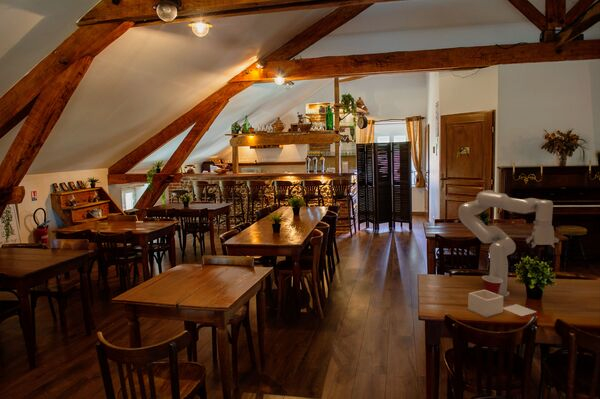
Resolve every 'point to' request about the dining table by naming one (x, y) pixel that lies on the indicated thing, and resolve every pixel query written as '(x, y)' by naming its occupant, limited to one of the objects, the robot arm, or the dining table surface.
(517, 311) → the mat
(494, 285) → the plastic cup
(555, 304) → the dining table surface
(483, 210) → the robot arm
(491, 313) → the white open box
